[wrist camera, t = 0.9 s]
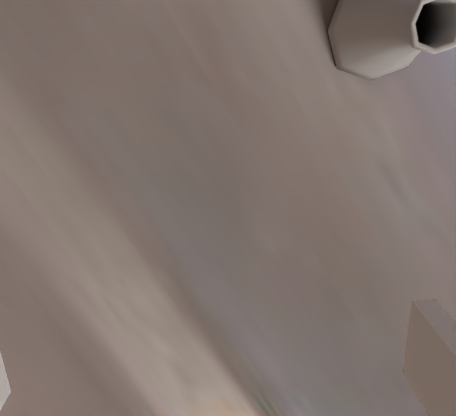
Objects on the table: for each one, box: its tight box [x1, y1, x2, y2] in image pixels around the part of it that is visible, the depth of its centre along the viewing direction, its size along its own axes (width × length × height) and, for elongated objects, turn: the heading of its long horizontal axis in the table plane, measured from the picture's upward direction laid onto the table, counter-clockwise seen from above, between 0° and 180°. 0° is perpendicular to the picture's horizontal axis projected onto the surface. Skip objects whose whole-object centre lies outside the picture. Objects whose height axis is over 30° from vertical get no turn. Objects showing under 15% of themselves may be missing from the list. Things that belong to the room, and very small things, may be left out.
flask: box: [328, 0, 456, 80], centre depth 28 cm, size 7×7×10 cm
